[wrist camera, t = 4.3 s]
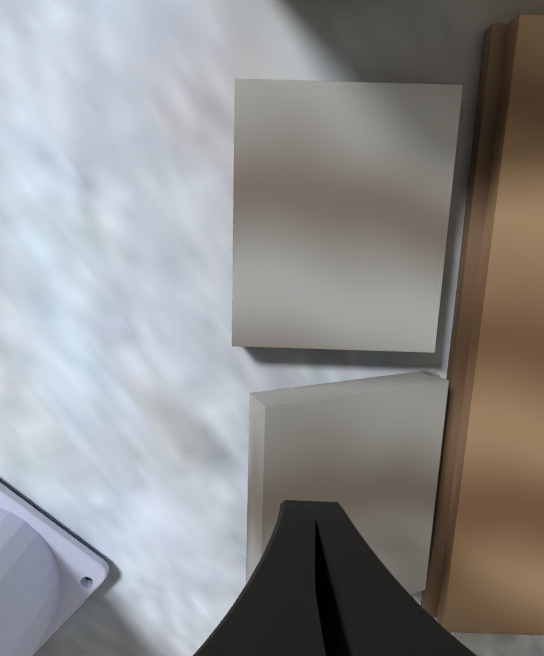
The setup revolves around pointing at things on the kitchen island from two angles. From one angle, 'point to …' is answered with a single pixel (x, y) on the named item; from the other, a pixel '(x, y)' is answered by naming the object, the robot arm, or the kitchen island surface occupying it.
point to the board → (497, 361)
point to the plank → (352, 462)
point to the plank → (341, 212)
